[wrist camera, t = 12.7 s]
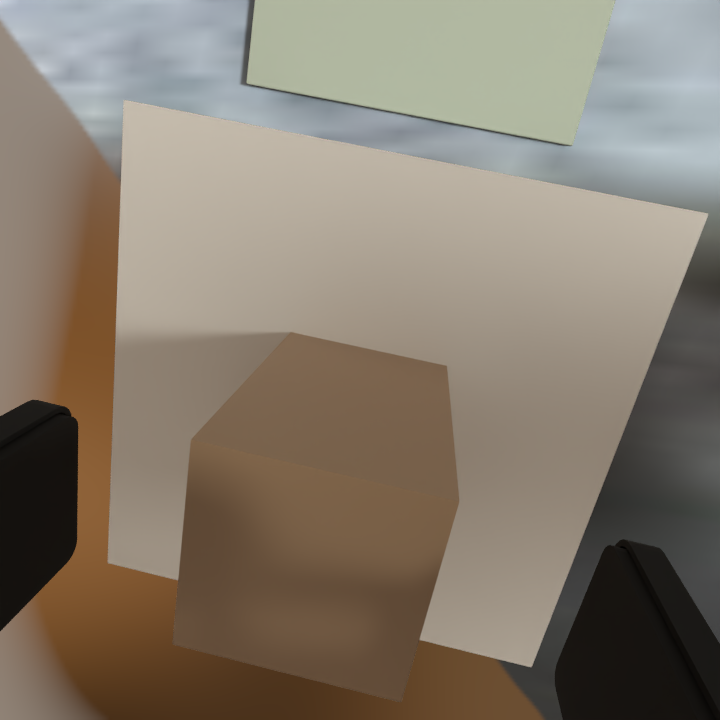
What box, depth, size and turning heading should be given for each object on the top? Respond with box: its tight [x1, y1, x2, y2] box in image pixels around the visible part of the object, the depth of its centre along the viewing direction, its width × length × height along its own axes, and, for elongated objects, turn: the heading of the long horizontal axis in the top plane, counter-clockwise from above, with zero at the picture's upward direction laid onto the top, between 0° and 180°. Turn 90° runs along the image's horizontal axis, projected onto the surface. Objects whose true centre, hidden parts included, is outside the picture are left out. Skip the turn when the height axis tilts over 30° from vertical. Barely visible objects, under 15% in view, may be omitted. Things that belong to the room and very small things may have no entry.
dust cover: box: [108, 100, 708, 702], centre depth 19 cm, size 13×13×22 cm
